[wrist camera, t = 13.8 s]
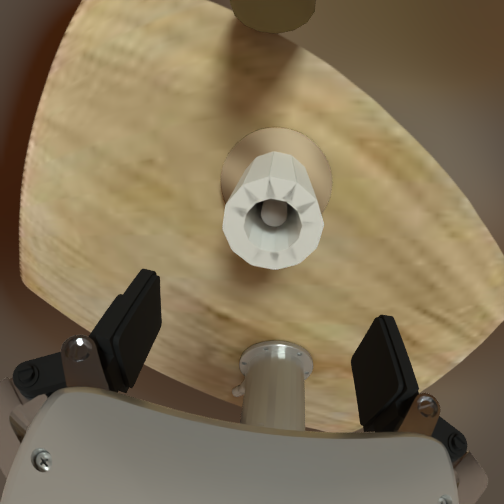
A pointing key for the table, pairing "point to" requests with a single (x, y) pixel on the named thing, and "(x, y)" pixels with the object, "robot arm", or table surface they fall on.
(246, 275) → the table surface
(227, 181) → the roll stand
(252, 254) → the paper roll
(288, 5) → the squeeze bottle
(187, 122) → the table surface
